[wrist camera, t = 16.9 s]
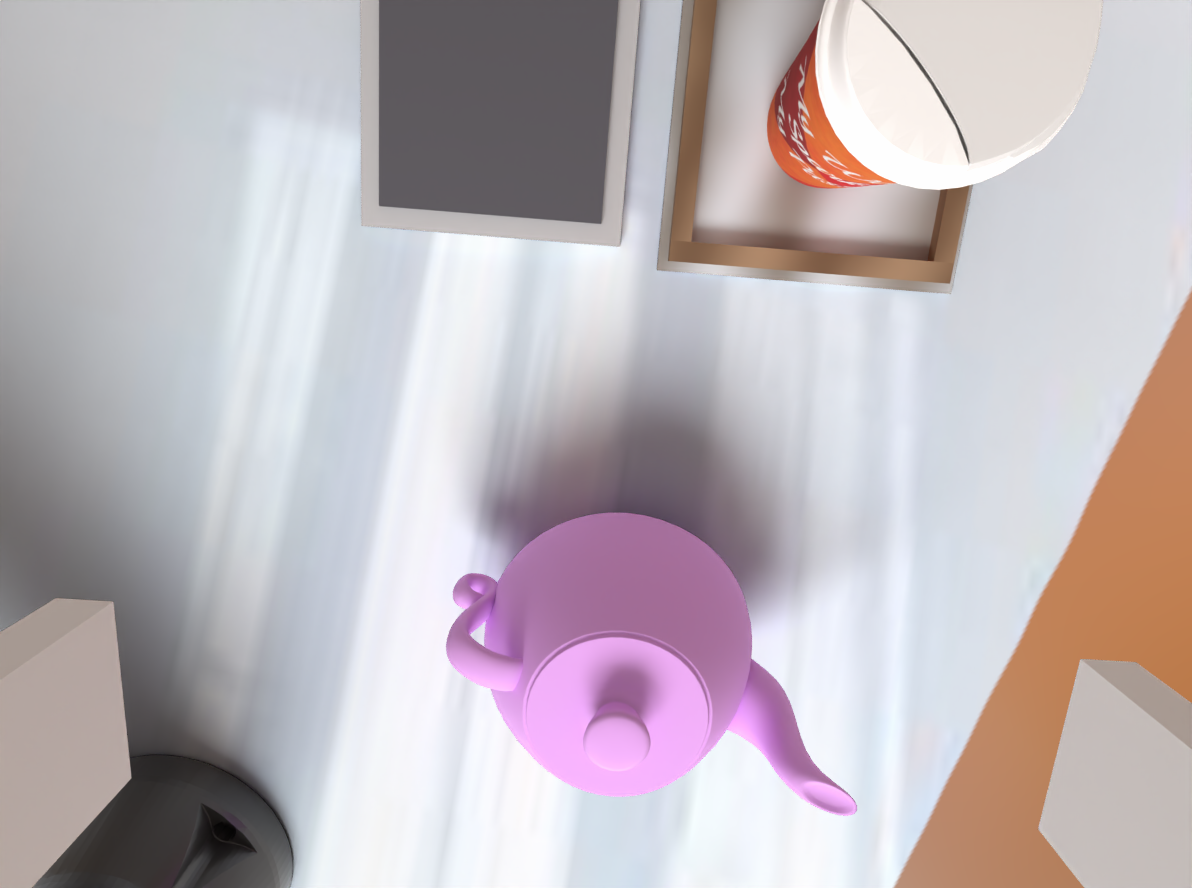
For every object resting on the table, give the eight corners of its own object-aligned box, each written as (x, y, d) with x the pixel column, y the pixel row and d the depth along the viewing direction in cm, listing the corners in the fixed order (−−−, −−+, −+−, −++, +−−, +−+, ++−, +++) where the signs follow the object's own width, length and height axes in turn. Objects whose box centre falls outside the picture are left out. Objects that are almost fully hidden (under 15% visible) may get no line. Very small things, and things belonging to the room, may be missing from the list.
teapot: (840, 560, 41) (929, 684, 29) (746, 761, 45) (791, 943, 33) (504, 447, 40) (456, 528, 28) (435, 662, 44) (367, 814, 32)
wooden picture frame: (656, 270, 37) (657, 270, 36) (689, -64, 33) (691, -74, 32) (949, 293, 37) (958, 294, 36) (1015, -39, 33) (1027, -48, 32)
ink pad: (366, 226, 37) (358, 225, 36) (366, -64, 34) (357, -76, 33) (619, 246, 37) (619, 246, 36) (643, -43, 34) (644, -53, 33)
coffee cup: (708, 146, 35) (769, 72, 21) (815, -10, 34) (965, -210, 19) (841, 248, 36) (987, 244, 22) (953, 101, 35) (1193, -7, 20)
